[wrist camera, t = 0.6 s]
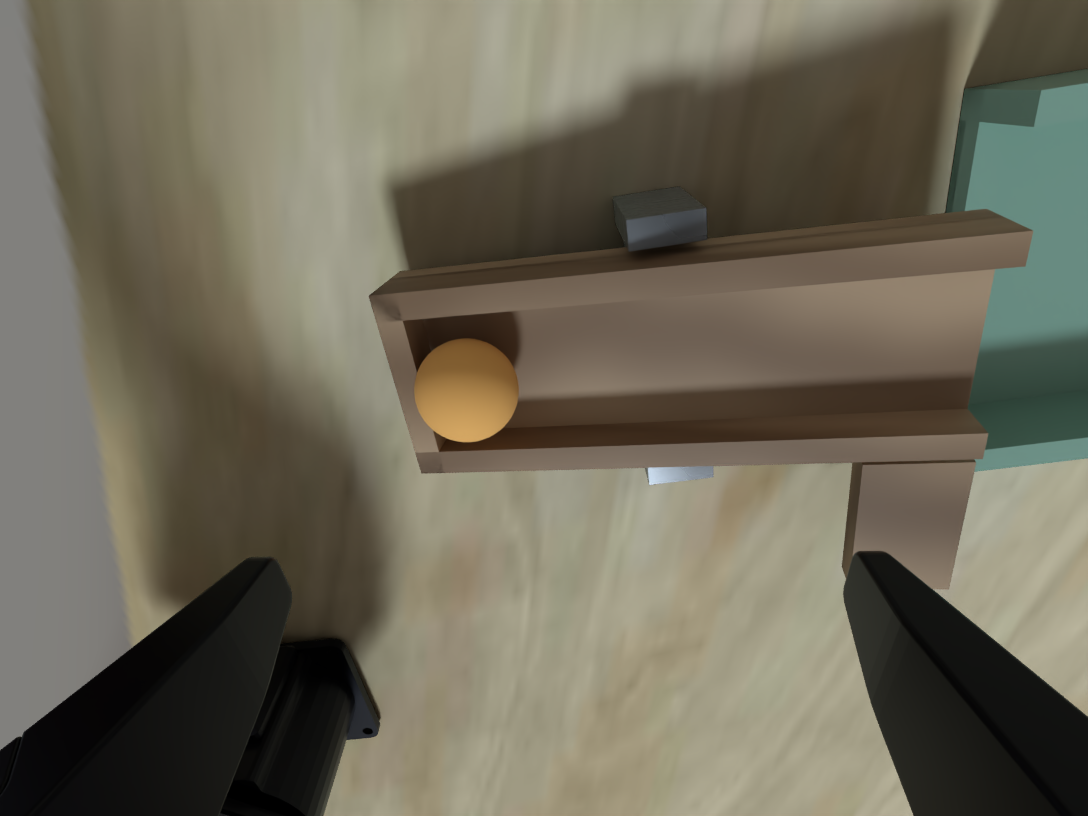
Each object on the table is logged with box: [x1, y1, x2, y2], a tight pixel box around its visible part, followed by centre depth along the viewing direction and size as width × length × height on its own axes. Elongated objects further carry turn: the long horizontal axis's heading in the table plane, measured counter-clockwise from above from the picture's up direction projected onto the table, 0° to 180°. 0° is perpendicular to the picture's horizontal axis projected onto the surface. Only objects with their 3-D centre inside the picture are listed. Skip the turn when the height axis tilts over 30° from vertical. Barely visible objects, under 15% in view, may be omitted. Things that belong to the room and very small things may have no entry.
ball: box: [414, 338, 519, 442], centre depth 18 cm, size 3×3×3 cm
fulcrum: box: [613, 187, 713, 485], centre depth 19 cm, size 8×2×4 cm, turn 9°
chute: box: [369, 209, 1033, 589], centre depth 19 cm, size 12×16×2 cm
